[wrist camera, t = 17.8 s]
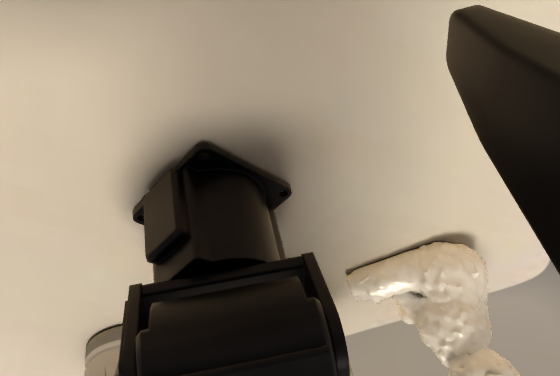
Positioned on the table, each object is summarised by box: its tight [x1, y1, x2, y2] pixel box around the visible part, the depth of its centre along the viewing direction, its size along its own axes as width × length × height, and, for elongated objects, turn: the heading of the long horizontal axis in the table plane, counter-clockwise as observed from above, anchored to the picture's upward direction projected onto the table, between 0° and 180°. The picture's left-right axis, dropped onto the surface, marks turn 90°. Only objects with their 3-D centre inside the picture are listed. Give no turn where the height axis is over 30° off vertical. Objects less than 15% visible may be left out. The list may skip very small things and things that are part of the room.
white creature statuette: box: [347, 242, 520, 376], centre depth 36 cm, size 10×9×12 cm
